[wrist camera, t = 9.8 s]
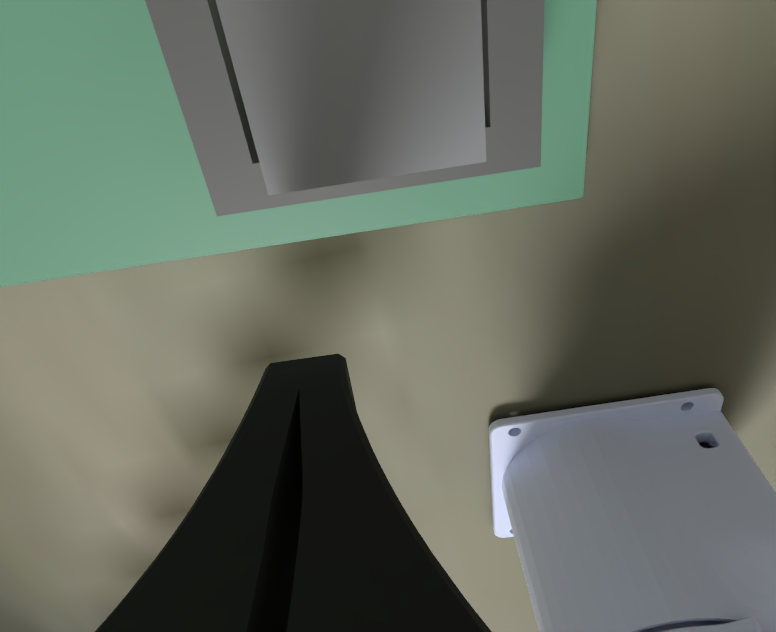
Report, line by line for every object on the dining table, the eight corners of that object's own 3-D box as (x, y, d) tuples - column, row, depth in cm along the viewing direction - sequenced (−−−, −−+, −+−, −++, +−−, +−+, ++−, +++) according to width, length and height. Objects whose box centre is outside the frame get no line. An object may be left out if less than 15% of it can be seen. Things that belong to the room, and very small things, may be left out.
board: (614, -542, 11) (709, -659, 8) (572, 182, 20) (613, 241, 17) (-599, -335, 12) (-890, -384, 9) (-121, 289, 20) (-191, 363, 17)
